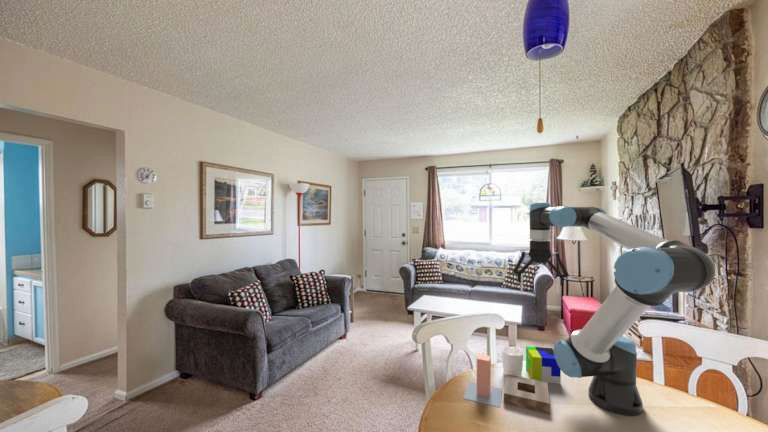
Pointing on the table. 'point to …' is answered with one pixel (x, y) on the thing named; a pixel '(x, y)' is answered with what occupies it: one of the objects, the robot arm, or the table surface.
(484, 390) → the peg
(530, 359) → the puzzle toy
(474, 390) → the mat
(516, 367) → the white cup
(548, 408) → the pocket block
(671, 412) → the table surface
